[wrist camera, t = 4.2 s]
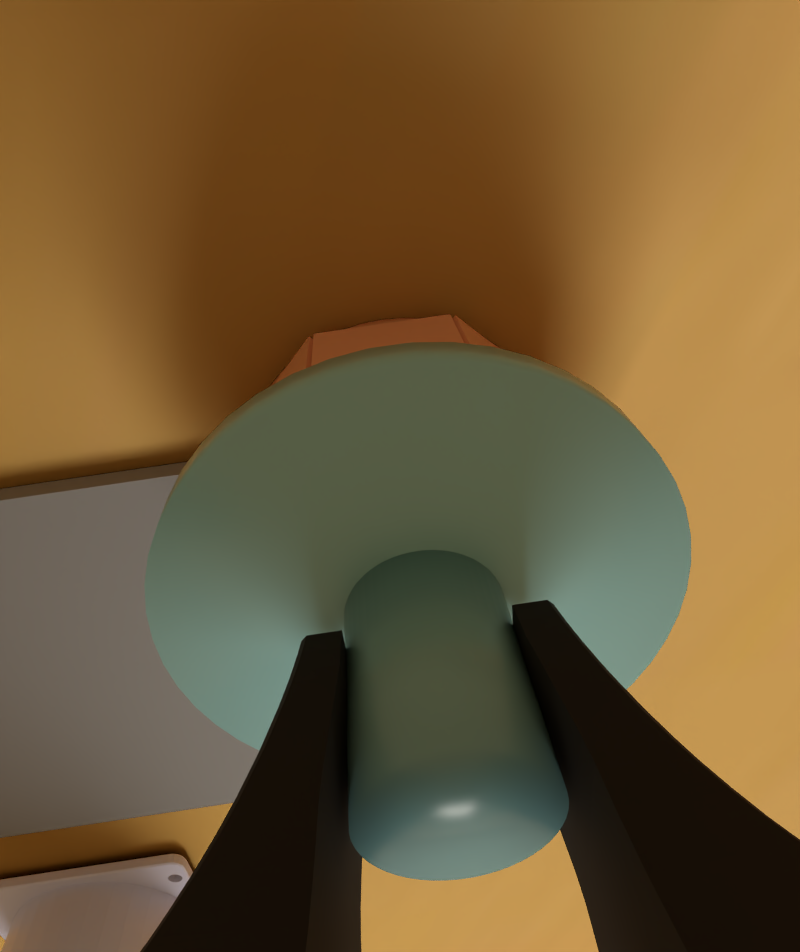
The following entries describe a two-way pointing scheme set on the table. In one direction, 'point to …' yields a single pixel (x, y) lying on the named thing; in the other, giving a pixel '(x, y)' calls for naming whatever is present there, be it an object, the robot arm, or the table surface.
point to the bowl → (381, 338)
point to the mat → (94, 665)
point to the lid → (419, 579)
